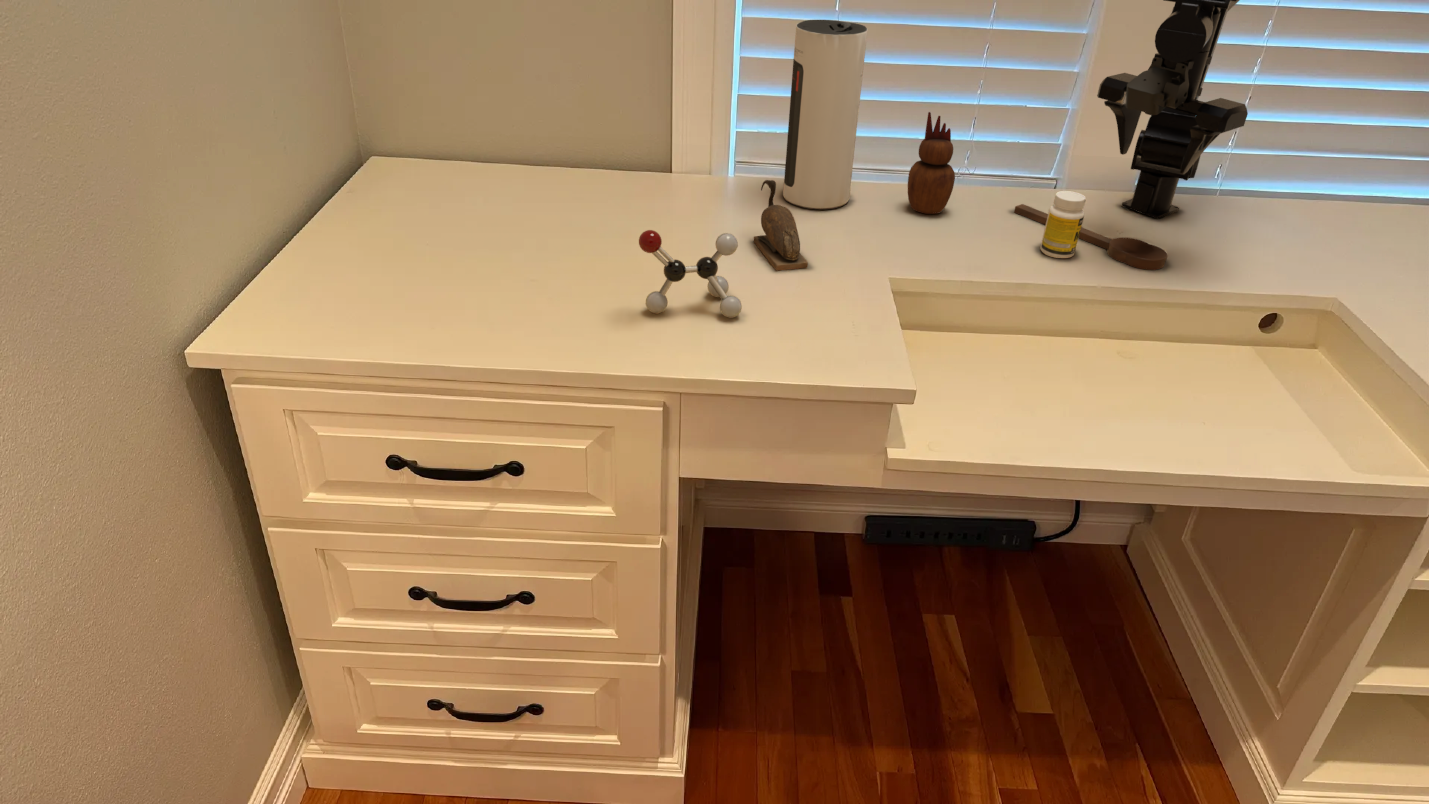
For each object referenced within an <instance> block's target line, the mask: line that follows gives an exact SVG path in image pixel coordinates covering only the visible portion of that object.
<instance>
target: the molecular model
mask: <svg viewBox="0 0 1429 804" xmlns="http://www.w3.org/2000/svg"><path fill="white" fill-rule="evenodd" d="M662 243H663V240H662V237H661V235H660V233H658V232H657V231H656V230H653V229H647V230H644V231H643V232H642V233H641V234H640V236H639V239H638V246H639V247H640V249H641V250H642V251H643V252H645V253H646V254H652V255H653V256H654V257H655V258H656V259H657V260H658V261H660V263H661V264H662V265H663V266H664V267H663V275H664V277H665V278H666V279H665V281H664V283H663V285H662V286H661V288H660V290H659V291H657V290H655V291H652V292H650V293H649V294H648V295H647V296H646V299H645V307H646V308H647V310H648V311H649V312H651V313H652V314H660V313H663V312H664V311H665V310H666V309H667V307H668V303H669V301H668V298H667V296H666V295H667V292H668V291H669V290H670V288H671V286H672V284H673V283H677V282H678V283H679V282H680V281H682V280H684V278H685V276H686V274H693V273H696V274H697V276H698V277H699V278H701V279H704V280H707V281H708V282H707V291H708V293H709V294H710V295H711V296H712V297H714V298H720V299H721V301H720V302H719V310H720V312H721V314H722V315H723V316H724V317H726V318H730V319H732V318H733V319H734V318H735V317H737V316H739V315H740V314H741V312H742V310H743V305H742V301H741V299H739V298H738V297H737V296H735V295H727V293H728V291H729V289H730V285H729V282H728V280H727V279H726V278H725V277H724V276H722V275H717V274H718V270H719V265H718V263H717V262H718V261H719V260H720V258H721V257H723V256H725V257H726V256H727V257H729V256H731V255H734V254H735V253H736V251H737V250H738V247H739V242H738V239H737V237H736V236H735V235H734V234H732V233H731V232H730V233H729V232H723V233H721V234H720V235H719V236H717V238H716V240H715V243H714V244H715V249H716V251H715V252H714V254H713V255H712V256H711V257H710V256H703V257H701V258H699V260H698V261H697V262H696V264H695V265H687V266H686V265H685V264H684V262H683V261H681V260H679V259H675V258H673V257H672V256H671V255H670V254H669V253H668V252H667V251H666V250H665V249H664V248H663V247H662Z"/></svg>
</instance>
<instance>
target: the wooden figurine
mask: <svg viewBox="0 0 1429 804" xmlns="http://www.w3.org/2000/svg"><path fill="white" fill-rule="evenodd" d="M926 119H927V120H926V125H925V132H924V138H923V139H922V140H921V142H920V144H919V147H918V158H919V159H920V160H917V161H915V162H914V164H912V165H911V166H910V169H909V172H908V177H907V199H908V203H909V206H910V207H911V209H912V210H914V211H915V212H917V213H921V214H926V215H935V214H940V213H941V212H943V211H944V209H945V208H946V206H947V205H948V202H949V200H950V198H951V195H952V192H953V189H954V185H955V180H956V172H955V170H954V169H953V167H952V165H950V164H949V163H950V162H951V161H952V158H953V155H954V145H953V143H952V139H951V138H952V134H951V133H952V132H951V131H952V130H951V128H950V127H949V128H947V123H946V122H944V123H943V124H942V126H941V115H938V116H937V119H936V122H935V125H934V127H933V121H932V113H931V111H928V112H927V118H926Z"/></svg>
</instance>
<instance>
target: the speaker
mask: <svg viewBox="0 0 1429 804" xmlns="http://www.w3.org/2000/svg"><path fill="white" fill-rule="evenodd" d="M868 30H869V29H868V27H867V26H865V25H863V24H861V23H856V22H852V21H846V20H845V21H844V20H837V19H807V20H803V21H800V22H798V23H796V25H795V35H794V36H795V37H794V49H793V58H792V59H793V61H792V75H791V88H790V98H789V99H790V101H789V114H788V127H787V140H786V152H785V153H786V154H785V166H784V178H783V190H782V191H783V192H782V196H783V198H784V200H785V201H786V202H787V203H789V204H791V205H794V206H797V207H800V208H804V209H808V210H809V209H810V210H834V209H837V208H838V209H839V208H840V207H843V206H845V205H847V203H848V202H849V200H850V198H851V189H852V188H851V187H852V179H853V168H854V160H855V159H854V158H855V148H856V141H857V140H856V139H857V129H858V121H859V113H860V112H859V111H860V103H861V93H862V85H863V78H864V77H863V76H864V66H865V56H866V50H867V49H866V48H867V39H868Z"/></svg>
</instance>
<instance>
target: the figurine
mask: <svg viewBox="0 0 1429 804" xmlns="http://www.w3.org/2000/svg"><path fill="white" fill-rule="evenodd" d="M765 185H767V186H768V189H770V190H769V191H770V192H769V193H770V194H769V196H768V197H769V198H768V203H767V204H768V206H767V207H766V208H765V209H764V210H763V211H762V213H761V216H760V224H761V229H762V231H763V232H764V234H763V235H754V236H753V243H754V244H755V246H756V247H757V248H758V249H759V251H760V252H761V253H762V254H763V256H764V257H765V258H766V260H767V261H768V262H769V264H770V265H771V266H772V267H773V268H774V270H775V271H785V270H786V271H787V270H795V269H796V270H797V269H804V268H805V269H806V268H808V266H809V262H808V261H807V259H806V258H805V257H804V256H803V255H802V254H801V253H800V251H801V241H800V236H799V232H798V227H797V222H796V220H795V217H794V215H793V213H792V211H791V210H790V209H789V208H788V207H786V206H784V205H780V204H774V198H775V195H776V190H777V182H776V181H775V180H773V179H771V180H770V179H766V180H764V181H763V182H762V184H761V188H760V191H763V189H764V186H765Z"/></svg>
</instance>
